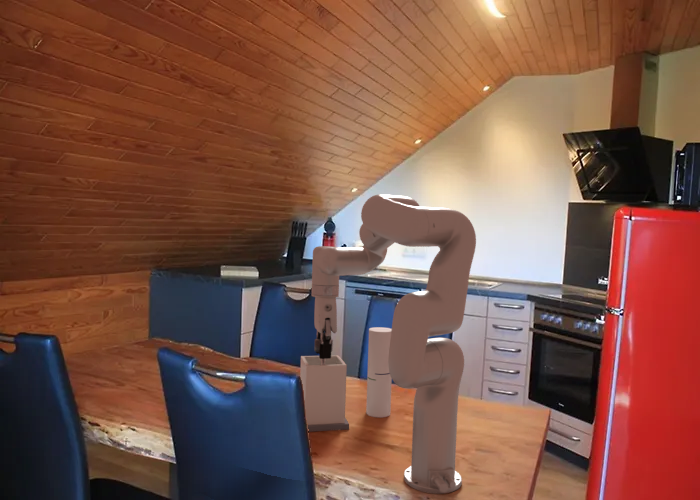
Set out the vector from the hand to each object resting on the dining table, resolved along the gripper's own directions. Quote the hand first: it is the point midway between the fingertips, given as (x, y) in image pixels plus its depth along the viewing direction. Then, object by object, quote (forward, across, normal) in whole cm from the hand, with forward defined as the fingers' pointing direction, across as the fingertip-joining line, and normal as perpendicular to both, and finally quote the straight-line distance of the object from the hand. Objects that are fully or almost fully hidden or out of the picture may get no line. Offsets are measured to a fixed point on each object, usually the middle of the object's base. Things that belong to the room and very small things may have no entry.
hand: (323, 355), depth 157 cm
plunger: (+17, 0, 0) cm, 17 cm away
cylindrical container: (+19, +5, -18) cm, 27 cm away
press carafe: (+19, 0, 0) cm, 19 cm away
